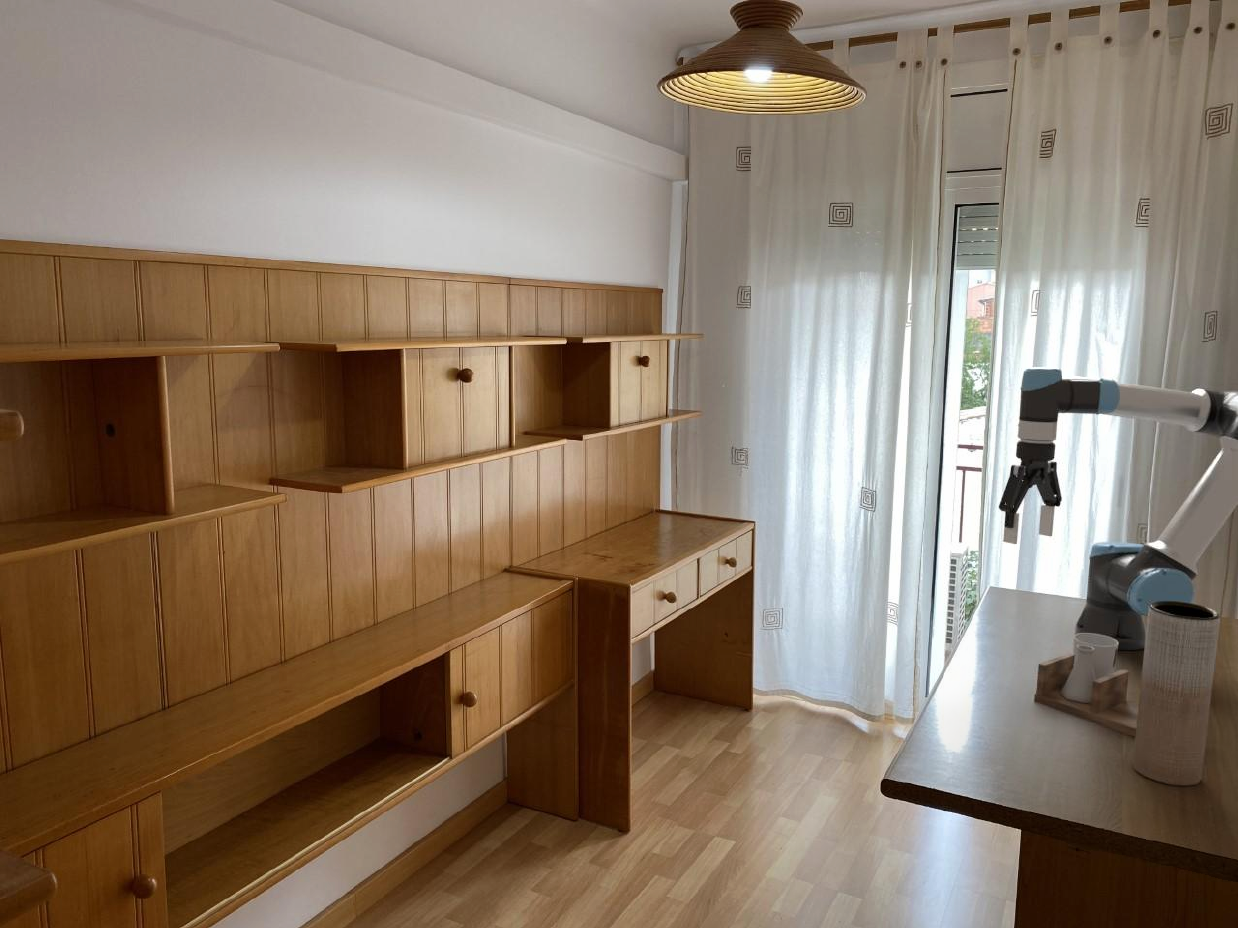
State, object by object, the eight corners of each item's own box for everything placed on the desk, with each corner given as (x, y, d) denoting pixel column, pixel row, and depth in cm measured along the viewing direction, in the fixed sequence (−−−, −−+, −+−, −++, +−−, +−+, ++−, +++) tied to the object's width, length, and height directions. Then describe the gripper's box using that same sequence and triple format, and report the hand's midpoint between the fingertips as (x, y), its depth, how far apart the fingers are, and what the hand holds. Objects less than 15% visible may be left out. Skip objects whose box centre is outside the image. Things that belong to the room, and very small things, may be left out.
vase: (1200, 792, 154) (1220, 622, 150) (1129, 776, 159) (1147, 611, 155) (1202, 768, 162) (1220, 607, 158) (1135, 753, 167) (1151, 596, 163)
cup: (1118, 696, 193) (1123, 647, 192) (1074, 692, 195) (1079, 644, 193) (1107, 681, 201) (1112, 634, 199) (1065, 677, 203) (1069, 631, 201)
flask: (1103, 706, 184) (1108, 655, 182) (1061, 701, 186) (1066, 650, 185) (1099, 693, 190) (1104, 643, 189) (1058, 687, 193) (1063, 639, 191)
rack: (1067, 688, 197) (1070, 652, 196) (1185, 727, 179) (1189, 688, 178) (1033, 701, 190) (1037, 664, 189) (1153, 743, 172) (1158, 702, 171)
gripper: (1051, 435, 217) (1043, 529, 220) (986, 442, 202) (978, 542, 205) (1084, 439, 211) (1075, 535, 214) (1019, 446, 196) (1010, 549, 200)
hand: (1028, 539), depth 210 cm, fingers open, 13 cm apart
